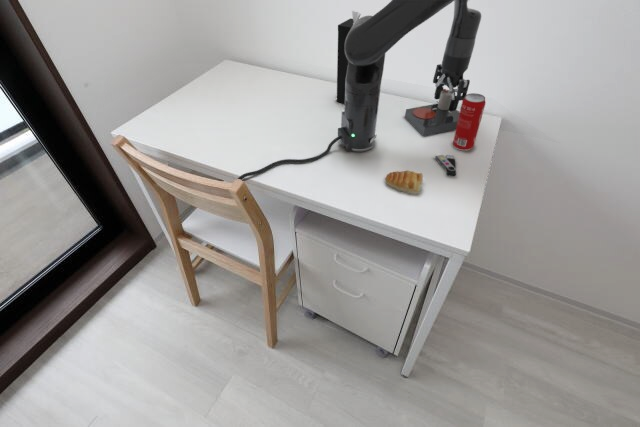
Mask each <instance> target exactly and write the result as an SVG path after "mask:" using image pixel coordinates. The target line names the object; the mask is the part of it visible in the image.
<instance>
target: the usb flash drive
mask: <svg viewBox="0 0 640 427" xmlns="http://www.w3.org/2000/svg"><path fill="white" fill-rule="evenodd" d="M434 159H435V160H436V161H437V162H438V163H439V165H441V167H442V168H443V169H444V170H445V171H446V176H448V177H456V176H457V172H456V171H457V167H456V159H455V154H446V157H445V155H444V154H437V155H435V157H434Z"/></svg>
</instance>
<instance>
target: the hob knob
mask: <svg viewBox="0 0 640 427" xmlns="http://www.w3.org/2000/svg"><path fill="white" fill-rule="evenodd" d="M451 99H452V95H451V93H450V91H449V89H446V88H443V90H442V91H441V94H440V98H439V99H438V103H437V104H438V106H437V107H438V108H439V109H441V110H449V106H450V103H451Z"/></svg>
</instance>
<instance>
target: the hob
mask: <svg viewBox="0 0 640 427" xmlns="http://www.w3.org/2000/svg"><path fill="white" fill-rule="evenodd" d="M438 102H439V100H438V101H436V103H432V104H427V105H421V106H416V107H411V108H406V109H405V112H404V119H405V120H406V121H407V122H408V123H409V124H410V125H411V126H412V127H413V128H414V129H415V130H416V131H417V132H418V133H419V134H420V135H421V136H422V137H427V136H432V135H438V134H443V133H447V132H453V131H456V128H457V123H458V119H459V114H460V110H458V109H456V110H455V111H449V110H441V109H439V108H438V107H437V106H438ZM418 108H427V109H431V110H433V111H434V112H435V117H433V118H431V119H421V118H418V117H416V116H415V115H414V114H413V111H414V110H415V109H418Z"/></svg>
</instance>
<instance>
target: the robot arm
mask: <svg viewBox="0 0 640 427" xmlns="http://www.w3.org/2000/svg"><path fill="white" fill-rule="evenodd" d="M468 1H469V0H390V1H389V2H388V3H387V4H386V5H385V6H383V8H381V9H380V10H379V11H377V12H376V13H375V14H373V15H364V16H362V17H361V16H360V17H359V19H358V20H357V21H356V22H355V23H354V24H353V26H352V28H351V29H350V31H349V33H348V35H347V37H346V41H345V55H346V57H347V59H348V68H347V74H346V81H345V104H344V108H343V110H344V111H341V117H340V118H341V120H340V121H341V122H340V127H338V128H337V137H335V138H334V139H333V140H331V142H329V144H328V145H327V148H326V149H325V150H324V151H323V152H322V153H320V154H319V155H315V156H312V157H308V158H302V159H297V158H295V159H291V158H288V159H287V158H285V159H280V160H277V161H274V162H272V163H270V164H268V165H265V166H264V167H262V168H260V169H258V170H254V171H249V172H246V173H243V174H241V175H240V176H239V177H238V178H237V179H241V181H242V180H243V179H245V178H247V177H250V176H255V175H259V174H260V173H264V172H266V171H267V170H269V169H271V168H273V167H275V166H278V165H281V164H285V163H286V164H287V163H296V164H302V163H308V162H313V161H316V160H319V159H321V158H323V157H325V156H326V155H328V154H329V152H330V151H331V149H332V147H333V146H334V144H336V143H337V142H338V141H340V142H341V143H342V145H343V146H344V148H345V150H346V151H347V152H357V153H361V152H362V153H363V152H368V151H371V150H372V149H373V148H374V146H375V143H376V138H377V134H376V131H377V130H376V129H377V121H378V114H379V105H380V96H381V95H380V94H381V88H382V80H383V76H384V75H383V74H384V69H385V68H384V66H385V60H386V54H387V52H388V51H390V50H391V48H393V47H394V46H396V44H397V43H399V41H400V40H401V39H403V38H404V37H405V36H407V35H408V34H409V33H410V32H412V31H413V30H415V29H416V28H418V27H419V26H421V25H422V24H423V23H425V22H427V21H428V20H429V19H431V18H432V17H433V16H435V15H436V14H438V13H439V12H440V11H442V10H443V9H444V8H446V7H447V6H449V5H450V4H452V3H453V19H452V23H451V27H450V31H449V34H448V35H449V36H448V38H447V41H446V44H445V49H444V52H443V57H442V61H441V63H439V64H437V65H436V67H435V70H434V71H435V72H434V75H433V79H432V84H435V92H434V97H433V98H434V99H435V100H439V98H440V94H441V91H442V90H443V89H444V86H446V87H447V89H448V90H449V91H450V93H451V95H452V99H451V103H450V106H449V111H455V110H458V106H459V102H460V101H463V99H464V98H465V96H466V95H467V94H468V90H469V86H470V82H471V81H470V79H465V78H464V74H465V72H466V71H467V70H468V69H469V65H470V62H471V58H472V55H473V51H474V48H475V44H476V38H477V35H478V32H479V28H480V25H481V21H482V13H481V12H480V11H479V10H477V9H474V8H469V7H468Z"/></svg>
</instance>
